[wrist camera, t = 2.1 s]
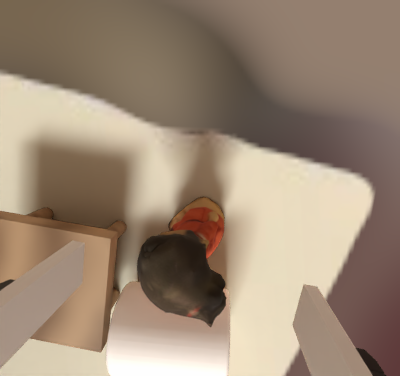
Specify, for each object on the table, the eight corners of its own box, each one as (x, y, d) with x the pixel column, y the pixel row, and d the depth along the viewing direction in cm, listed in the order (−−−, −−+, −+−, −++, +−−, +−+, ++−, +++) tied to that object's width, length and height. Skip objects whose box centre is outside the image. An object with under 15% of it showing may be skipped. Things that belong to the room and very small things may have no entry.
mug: (136, 266, 27) (102, 318, 19) (228, 273, 27) (232, 329, 19) (137, 358, 30) (108, 438, 22) (221, 367, 29) (222, 452, 21)
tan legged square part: (31, 289, 29) (-17, 329, 23) (33, 197, 26) (-20, 215, 21) (125, 307, 28) (100, 352, 22) (135, 215, 26) (110, 238, 20)
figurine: (234, 203, 25) (248, 262, 13) (221, 253, 26) (223, 349, 14) (173, 188, 25) (133, 234, 13) (162, 239, 26) (117, 322, 15)
